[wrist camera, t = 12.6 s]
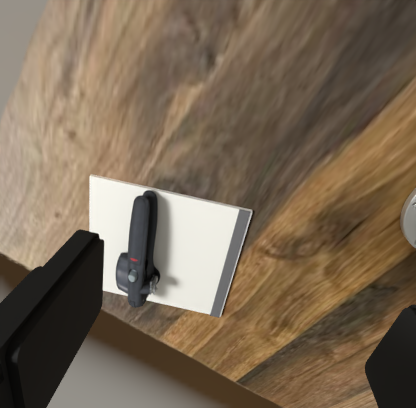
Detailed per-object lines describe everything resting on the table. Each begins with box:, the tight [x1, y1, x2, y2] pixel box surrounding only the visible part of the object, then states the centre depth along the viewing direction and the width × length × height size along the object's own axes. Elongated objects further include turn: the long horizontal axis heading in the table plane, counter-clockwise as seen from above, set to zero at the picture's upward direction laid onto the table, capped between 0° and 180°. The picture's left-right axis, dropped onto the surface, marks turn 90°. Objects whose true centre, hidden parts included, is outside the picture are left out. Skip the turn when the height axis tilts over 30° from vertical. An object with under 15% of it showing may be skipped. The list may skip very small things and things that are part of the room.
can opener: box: [116, 190, 160, 307], centre depth 40 cm, size 18×7×6 cm, turn 168°
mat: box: [89, 174, 252, 317], centre depth 44 cm, size 22×20×1 cm
